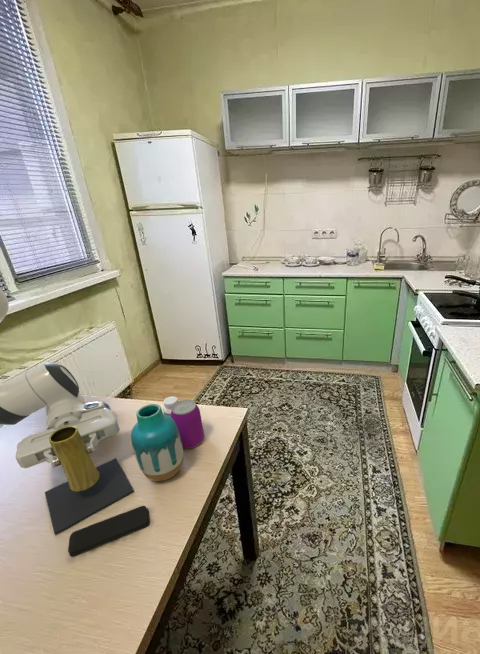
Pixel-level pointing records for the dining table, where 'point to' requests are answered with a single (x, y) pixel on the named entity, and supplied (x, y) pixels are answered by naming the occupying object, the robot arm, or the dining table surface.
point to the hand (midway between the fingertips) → (74, 457)
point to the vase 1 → (74, 458)
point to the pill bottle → (169, 405)
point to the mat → (87, 497)
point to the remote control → (108, 530)
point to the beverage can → (188, 423)
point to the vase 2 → (156, 443)
